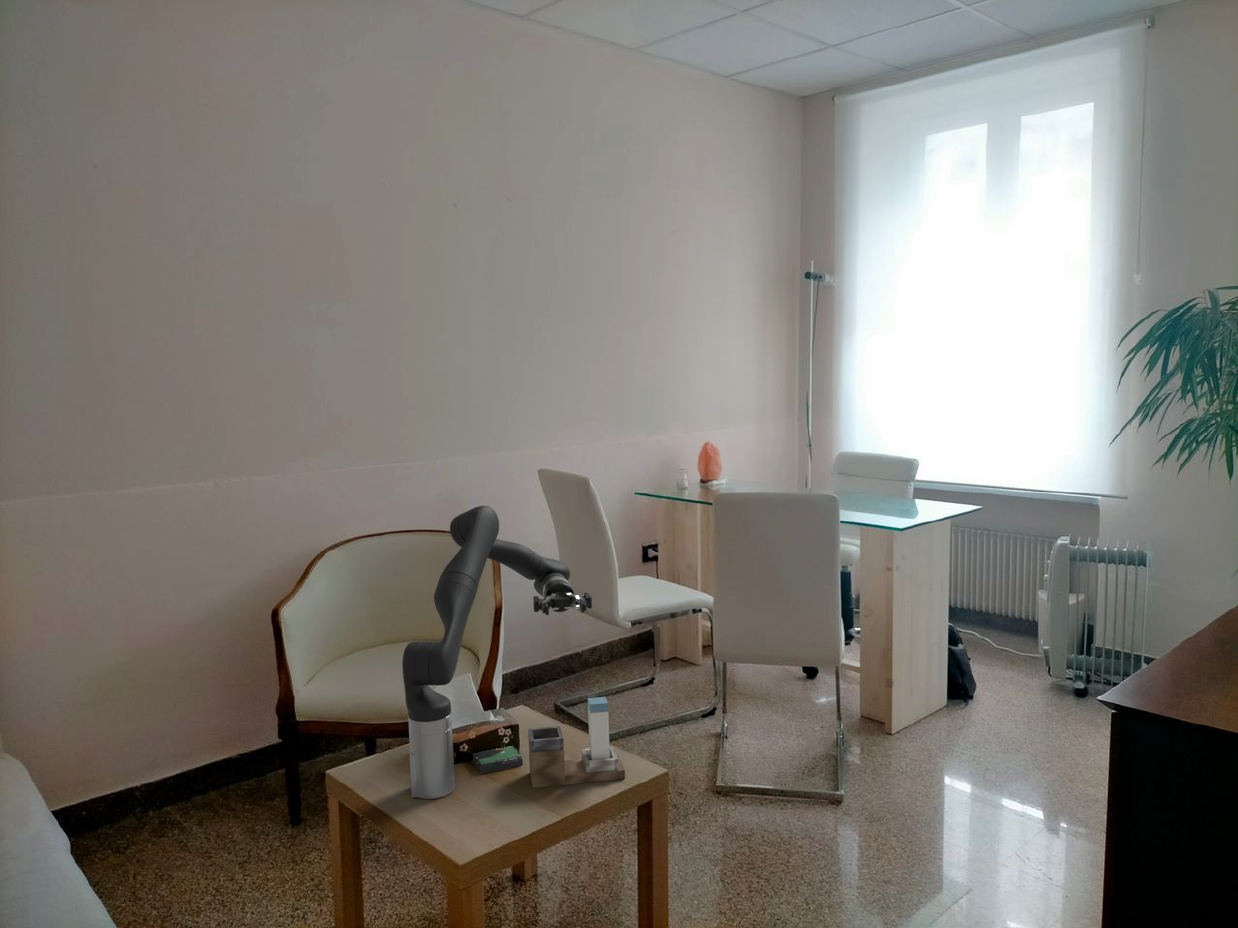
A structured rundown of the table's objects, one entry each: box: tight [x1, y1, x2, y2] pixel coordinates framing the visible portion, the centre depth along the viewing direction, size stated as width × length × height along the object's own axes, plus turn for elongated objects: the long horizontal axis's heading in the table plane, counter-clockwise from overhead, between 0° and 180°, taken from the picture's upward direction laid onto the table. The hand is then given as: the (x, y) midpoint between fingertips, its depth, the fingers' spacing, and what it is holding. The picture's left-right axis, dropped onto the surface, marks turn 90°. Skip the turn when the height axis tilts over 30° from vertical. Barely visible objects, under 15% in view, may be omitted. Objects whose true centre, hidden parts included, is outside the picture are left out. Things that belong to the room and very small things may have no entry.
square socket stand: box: [527, 725, 626, 789], centre depth 210 cm, size 21×8×10 cm, turn 100°
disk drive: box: [472, 744, 524, 774], centre depth 222 cm, size 10×3×15 cm
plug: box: [587, 696, 610, 760], centre depth 210 cm, size 4×4×15 cm
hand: (565, 609), depth 223 cm, fingers open, 8 cm apart
